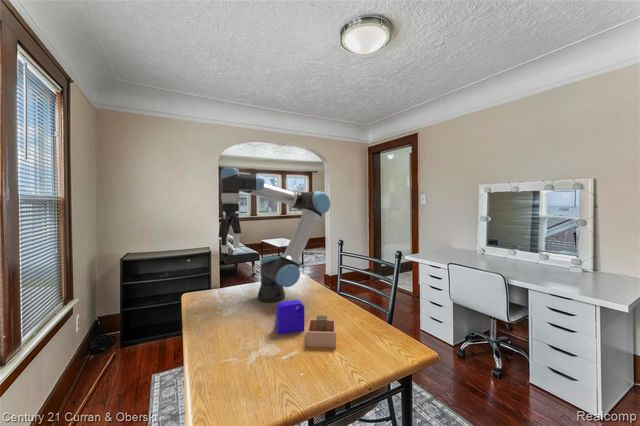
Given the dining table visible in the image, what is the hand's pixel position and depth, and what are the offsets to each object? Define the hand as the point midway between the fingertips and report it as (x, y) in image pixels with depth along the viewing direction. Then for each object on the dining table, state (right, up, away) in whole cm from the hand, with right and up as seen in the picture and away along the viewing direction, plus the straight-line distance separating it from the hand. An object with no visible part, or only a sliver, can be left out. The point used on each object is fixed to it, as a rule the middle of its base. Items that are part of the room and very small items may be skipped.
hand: (230, 250), depth 122 cm
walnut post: (+41, -32, -17) cm, 55 cm away
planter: (+41, -33, -17) cm, 55 cm away
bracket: (+26, -32, -3) cm, 41 cm away
